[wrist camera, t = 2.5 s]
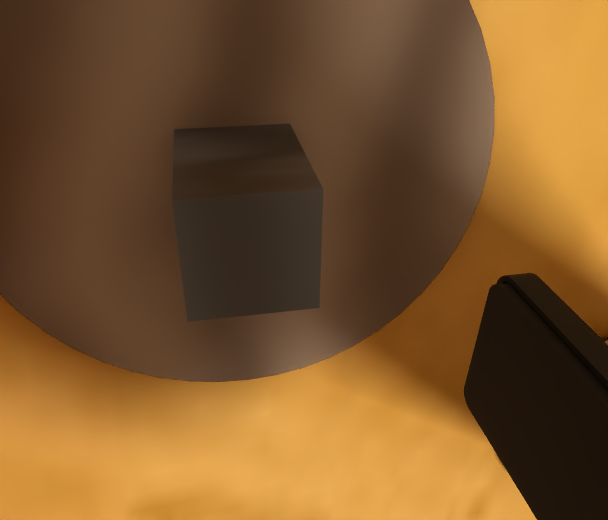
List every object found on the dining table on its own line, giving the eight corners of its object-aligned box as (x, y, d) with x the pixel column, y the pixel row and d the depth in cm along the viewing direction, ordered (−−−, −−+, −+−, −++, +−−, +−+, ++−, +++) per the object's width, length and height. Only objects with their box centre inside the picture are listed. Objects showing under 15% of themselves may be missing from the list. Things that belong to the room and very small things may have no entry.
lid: (532, -148, 16) (695, -175, 11) (442, 340, 25) (506, 445, 20) (-177, -171, 13) (-403, -222, 8) (23, 389, 22) (-23, 526, 17)
